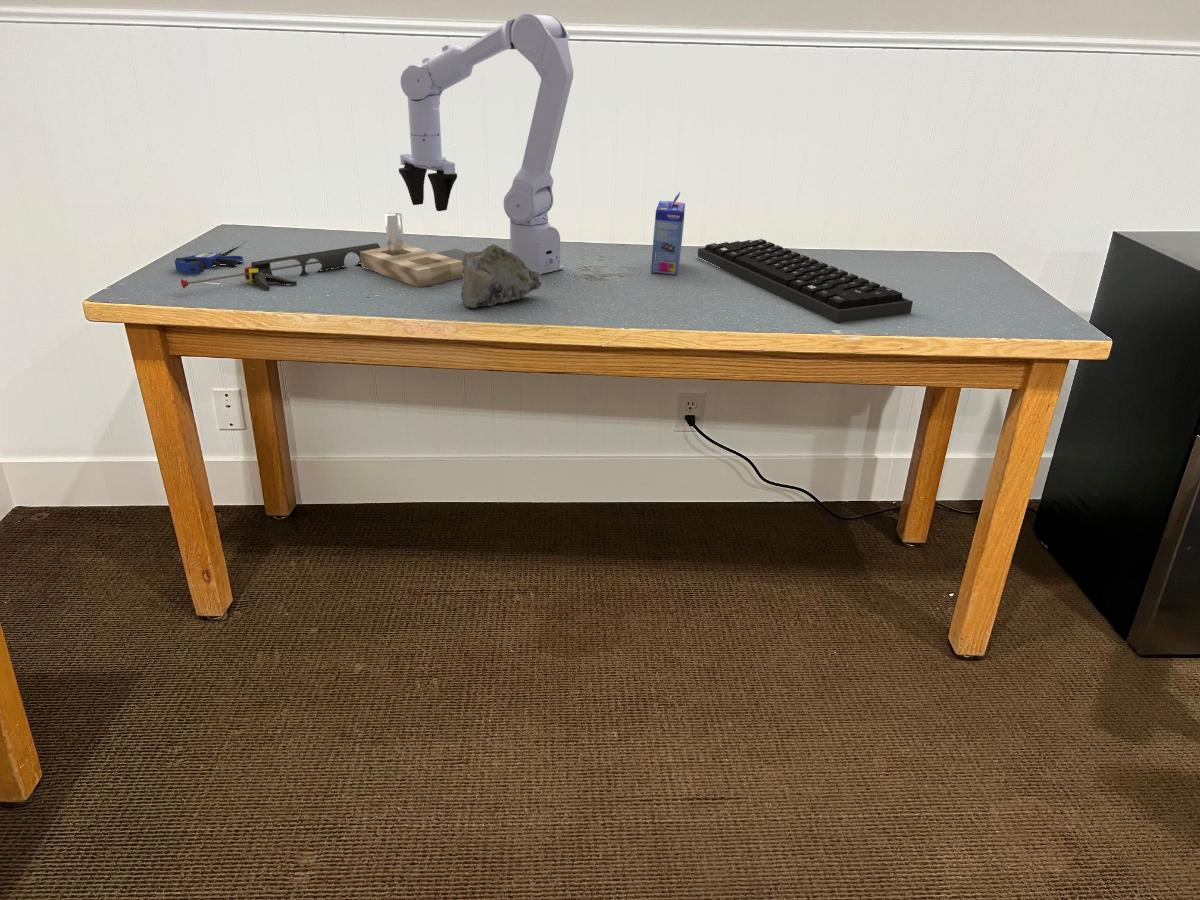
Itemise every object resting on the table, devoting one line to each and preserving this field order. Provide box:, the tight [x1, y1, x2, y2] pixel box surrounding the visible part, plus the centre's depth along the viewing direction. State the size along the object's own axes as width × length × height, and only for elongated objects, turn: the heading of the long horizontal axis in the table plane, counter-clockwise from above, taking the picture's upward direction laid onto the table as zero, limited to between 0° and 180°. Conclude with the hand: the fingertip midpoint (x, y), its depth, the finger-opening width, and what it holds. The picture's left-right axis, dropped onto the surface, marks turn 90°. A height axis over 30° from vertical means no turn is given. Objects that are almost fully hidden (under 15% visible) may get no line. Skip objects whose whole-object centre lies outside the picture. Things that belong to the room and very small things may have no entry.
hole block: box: [359, 243, 464, 288], centre depth 162 cm, size 18×10×3 cm, turn 47°
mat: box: [436, 248, 468, 266], centre depth 172 cm, size 10×10×1 cm
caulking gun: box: [180, 242, 381, 291], centre depth 157 cm, size 4×37×10 cm
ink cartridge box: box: [650, 191, 686, 276], centre depth 168 cm, size 10×6×14 cm, turn 173°
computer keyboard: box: [697, 238, 914, 324], centre depth 163 cm, size 45×16×4 cm, turn 25°
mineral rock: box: [460, 243, 542, 309], centre depth 145 cm, size 13×11×10 cm
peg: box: [384, 212, 405, 256], centre depth 163 cm, size 3×3×10 cm
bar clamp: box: [174, 251, 244, 275], centre depth 171 cm, size 32×2×10 cm
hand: (429, 207), depth 171 cm, fingers open, 7 cm apart
